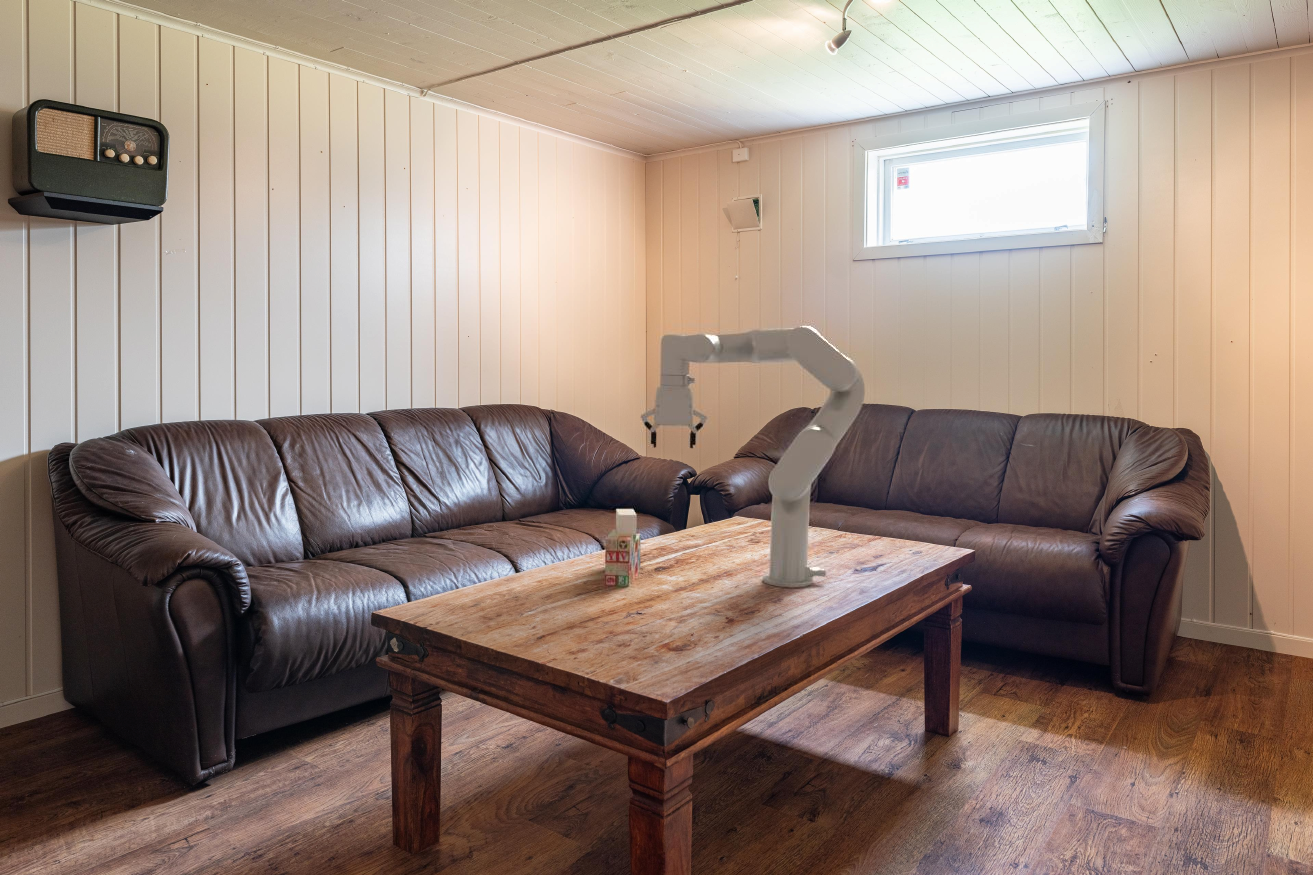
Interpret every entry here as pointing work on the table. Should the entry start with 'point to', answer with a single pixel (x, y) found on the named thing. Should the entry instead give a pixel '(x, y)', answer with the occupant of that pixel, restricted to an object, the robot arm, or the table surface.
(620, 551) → the stack of blocks
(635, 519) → the cream bar block
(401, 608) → the table surface
